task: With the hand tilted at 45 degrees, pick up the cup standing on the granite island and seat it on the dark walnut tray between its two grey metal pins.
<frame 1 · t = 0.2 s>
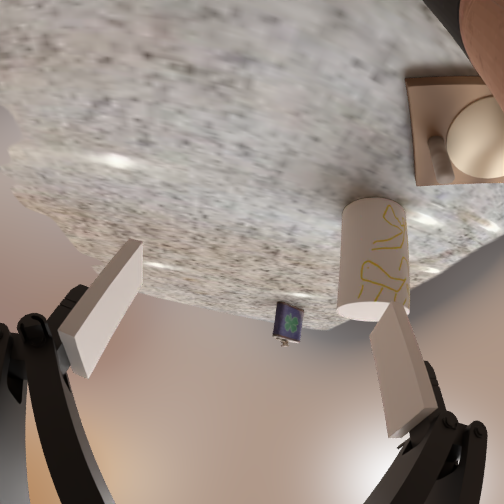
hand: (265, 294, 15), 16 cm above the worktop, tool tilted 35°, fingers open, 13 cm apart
tray: (490, 131, 19), on the worktop
flask: (290, 305, 78), on the worktop
cup: (374, 215, 35), on the worktop
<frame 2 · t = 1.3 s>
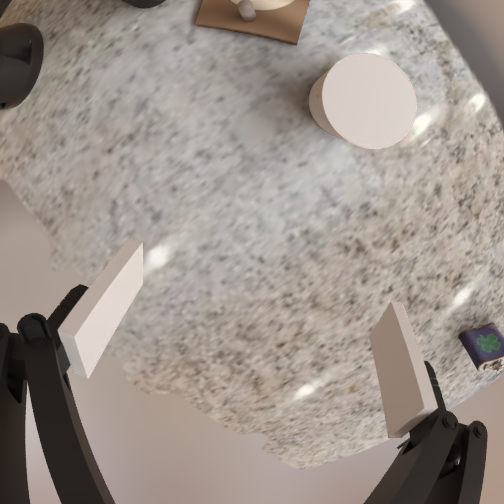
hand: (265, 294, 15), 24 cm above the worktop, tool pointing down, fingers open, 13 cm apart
flask: (476, 330, 44), on the worktop
cup: (342, 103, 31), on the worktop
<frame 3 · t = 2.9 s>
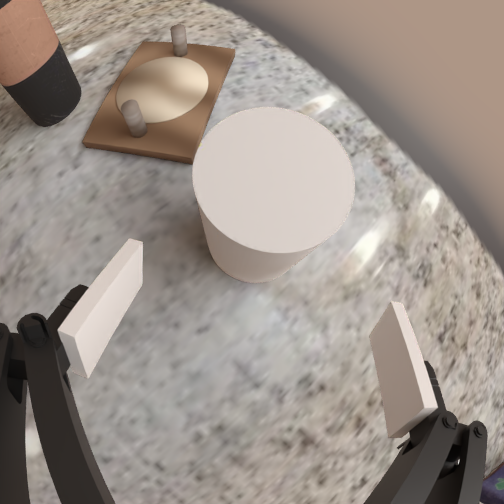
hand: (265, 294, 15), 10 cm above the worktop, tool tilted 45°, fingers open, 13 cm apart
tray: (163, 94, 29), on the worktop
travel mug: (57, 104, 28), on the worktop
flask: (489, 477, 22), on the worktop
cup: (254, 236, 26), on the worktop
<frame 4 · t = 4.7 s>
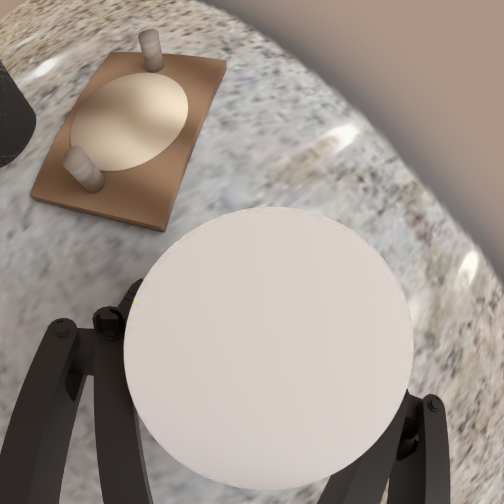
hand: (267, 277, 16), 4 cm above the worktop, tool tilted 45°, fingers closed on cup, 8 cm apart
tray: (130, 125, 22), on the worktop
travel mug: (11, 137, 21), on the worktop
cup: (248, 335, 19), on the worktop, touching gripper
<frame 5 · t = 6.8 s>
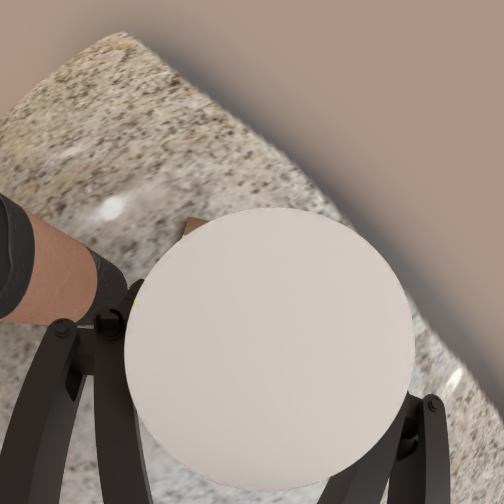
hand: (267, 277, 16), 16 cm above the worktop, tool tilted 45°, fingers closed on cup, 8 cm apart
travel mug: (100, 292, 31), on the worktop
cup: (248, 335, 19), point 12 cm above the worktop, touching gripper
when the fingers open (7 cm above the worktop, at t = 9.2 s): cup drops 2 cm, resting on tray.
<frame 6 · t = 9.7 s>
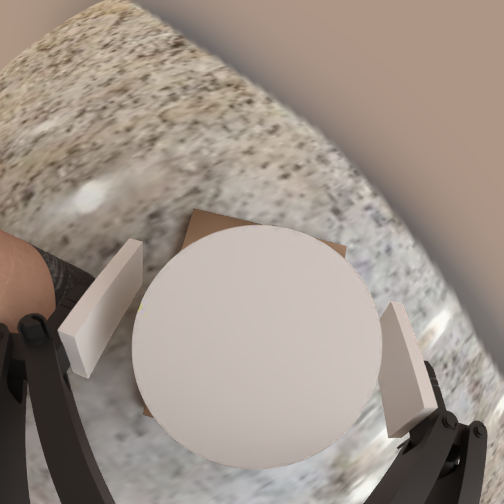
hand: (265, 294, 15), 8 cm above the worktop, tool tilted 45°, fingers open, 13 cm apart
tray: (246, 333, 22), on the worktop
travel mug: (73, 311, 21), on the worktop
cup: (243, 334, 21), point 1 cm above the worktop, touching tray
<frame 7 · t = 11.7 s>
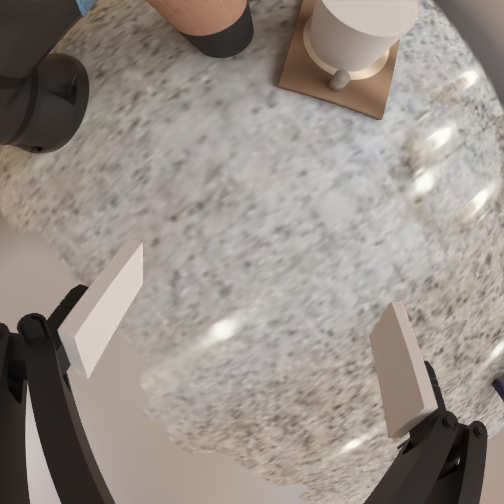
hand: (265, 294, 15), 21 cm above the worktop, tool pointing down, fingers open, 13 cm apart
tray: (345, 44, 28), on the worktop
travel mug: (224, 33, 29), on the worktop
cup: (345, 40, 26), point 1 cm above the worktop, touching tray
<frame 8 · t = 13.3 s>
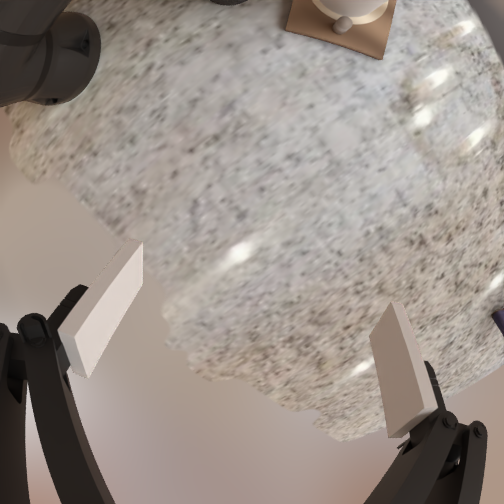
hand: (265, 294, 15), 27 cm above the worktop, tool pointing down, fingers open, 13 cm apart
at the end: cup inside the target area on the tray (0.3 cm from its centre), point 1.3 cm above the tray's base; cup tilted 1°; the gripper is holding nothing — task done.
